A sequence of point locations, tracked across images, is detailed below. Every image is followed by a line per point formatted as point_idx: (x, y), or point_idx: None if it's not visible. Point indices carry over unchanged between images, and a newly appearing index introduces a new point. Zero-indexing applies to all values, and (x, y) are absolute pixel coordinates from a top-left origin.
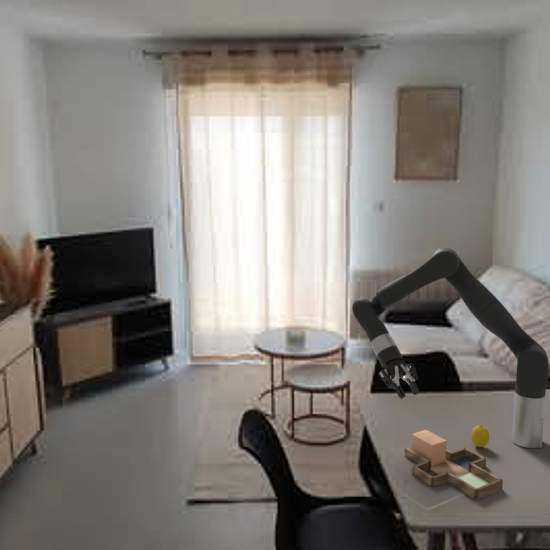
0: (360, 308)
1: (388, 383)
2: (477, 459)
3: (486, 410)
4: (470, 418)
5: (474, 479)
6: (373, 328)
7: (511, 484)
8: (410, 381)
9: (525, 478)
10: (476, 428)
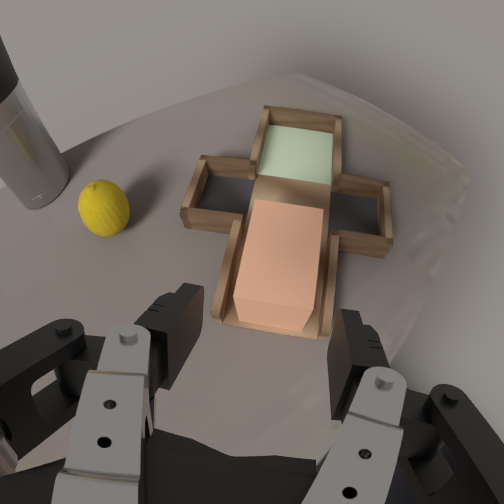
0: None
1: (427, 470)
2: (203, 178)
3: None
4: None
5: (278, 157)
6: None
7: (233, 120)
8: (152, 368)
9: (192, 118)
10: (103, 196)
